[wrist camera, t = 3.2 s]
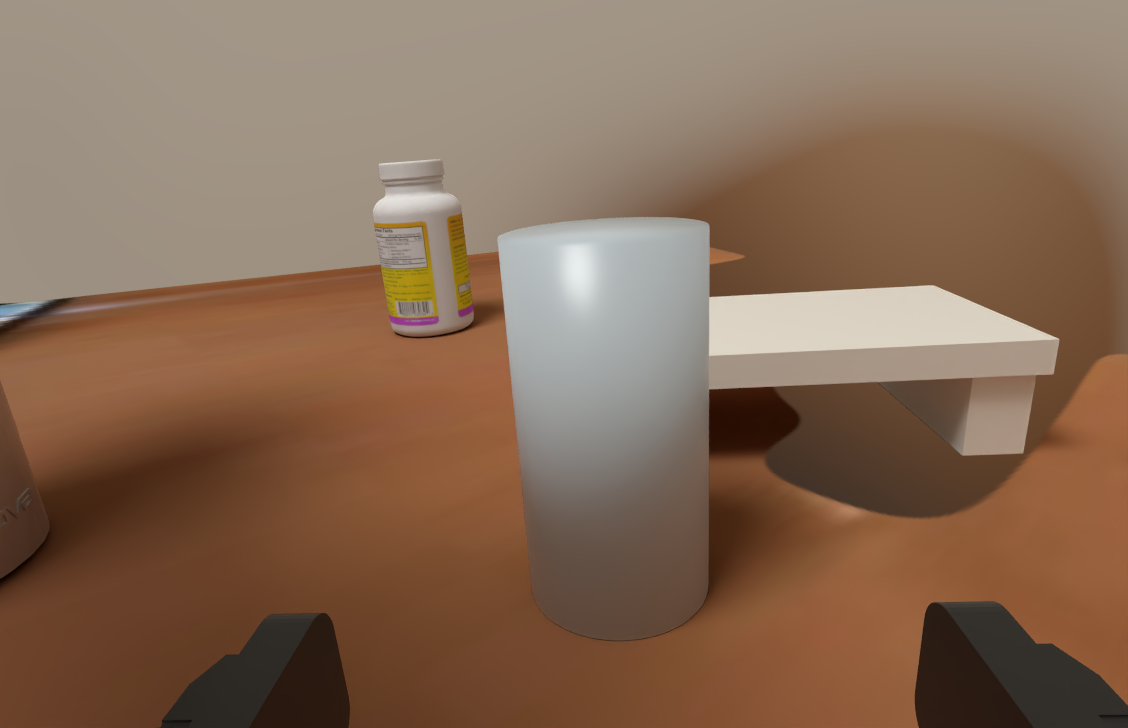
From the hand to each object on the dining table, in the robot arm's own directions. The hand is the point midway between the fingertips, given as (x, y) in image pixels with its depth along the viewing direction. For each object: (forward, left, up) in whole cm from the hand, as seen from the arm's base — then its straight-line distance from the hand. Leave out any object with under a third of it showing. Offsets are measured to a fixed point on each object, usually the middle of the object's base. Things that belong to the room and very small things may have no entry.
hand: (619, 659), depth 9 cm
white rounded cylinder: (0, +11, -7) cm, 13 cm away
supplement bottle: (-14, +44, -7) cm, 46 cm away
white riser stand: (+8, +23, -7) cm, 25 cm away
